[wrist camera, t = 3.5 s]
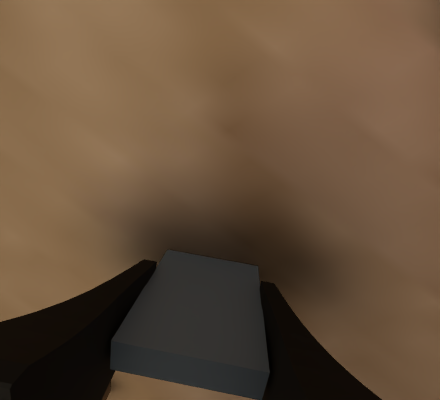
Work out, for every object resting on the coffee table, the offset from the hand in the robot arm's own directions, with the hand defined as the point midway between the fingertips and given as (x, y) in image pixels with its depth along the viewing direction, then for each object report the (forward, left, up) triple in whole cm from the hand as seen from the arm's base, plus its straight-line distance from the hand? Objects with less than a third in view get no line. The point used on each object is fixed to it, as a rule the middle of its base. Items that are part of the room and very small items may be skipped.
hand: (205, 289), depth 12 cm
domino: (0, 0, -2) cm, 2 cm away
